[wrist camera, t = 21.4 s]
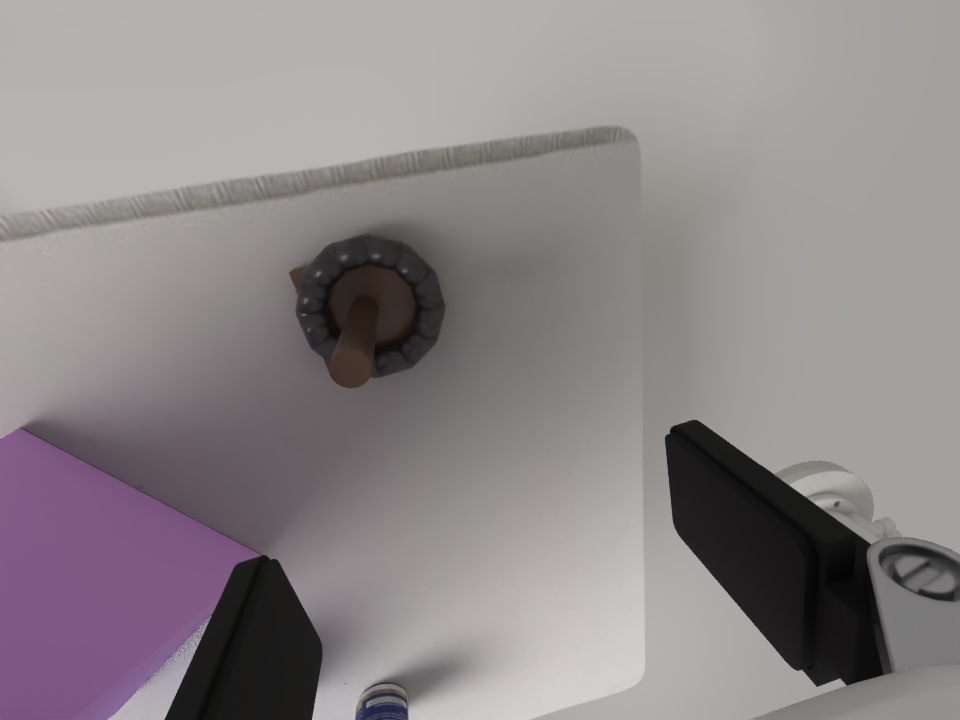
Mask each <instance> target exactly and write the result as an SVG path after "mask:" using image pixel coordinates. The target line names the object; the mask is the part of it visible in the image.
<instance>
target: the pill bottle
mask: <svg viewBox="0 0 960 720" xmlns="http://www.w3.org/2000/svg"><path fill="white" fill-rule="evenodd" d="M355 720H409V719H408V696H407V694H406V692H405V691H404V689H402V688H401V687H400V686H397V685H394V684H381V685H377V686H374V687H372V688H370V689H368V690H367V691H365V692H364V693H363V694H362V695H361V696H360V698H359V700H358V702H357V708H356V719H355Z"/></svg>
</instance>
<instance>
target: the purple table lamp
mask: <svg viewBox="0 0 960 720" xmlns="http://www.w3.org/2000/svg"><path fill="white" fill-rule="evenodd" d="M259 556H260V554H258V553H256V552H254V551H252V550H251V549H249V548H247V547H245V546H243V545H241V544H239V543H237V542H235V541H233V540H232V539H230V538H228V537H226V536H224V535H222V534H220V533H218V532H216V531H214V530H213V529H211V528H209V527H207V526H205V525H203V524H201V523H199V522H197V521H195V520H194V519H192V518H190V517H188V516H186V515H184V514H182V513H180V512H178V511H176V510H175V509H173V508H171V507H169V506H167V505H165V504H163V503H161V502H159V501H157V500H156V499H154V498H152V497H150V496H148V495H146V494H144V493H142V492H140V491H138V490H137V489H135V488H133V487H131V486H129V485H127V484H125V483H123V482H121V481H119V480H118V479H116V478H114V477H112V476H110V475H108V474H106V473H104V472H102V471H100V470H99V469H97V468H95V467H93V466H91V465H89V464H87V463H85V462H83V461H81V460H80V459H78V458H76V457H74V456H72V455H70V454H68V453H66V452H64V451H62V450H61V449H59V448H57V447H55V446H53V445H51V444H49V443H47V442H45V441H43V440H42V439H40V438H38V437H36V436H34V435H32V434H30V433H28V432H26V431H25V430H23V429H21V428H19V429H17V430H15V431H14V432H12V433H10V434H9V435H7V436H5V437H4V438H2V439H0V720H107V719H108V718H110V717H111V716H113V715H114V714H115V713H116V712H117V711H118V710H119V709H120V708H121V707H122V706H123V705H124V704H125V703H126V702H127V701H128V700H129V699H130V698H131V697H132V696H133V695H134V694H135V693H136V691H137V690H138V689H139V688H140V687H141V686H142V685H143V684H144V683H145V682H146V681H147V680H148V679H149V678H150V677H151V676H152V675H153V674H154V673H155V672H156V671H157V670H158V669H159V668H160V667H161V666H162V665H163V664H164V663H165V662H166V661H167V660H168V659H169V658H170V657H171V655H172V654H173V653H174V652H175V651H176V650H177V649H178V648H179V647H180V646H181V645H182V644H183V643H184V642H185V641H186V640H187V639H188V638H189V637H190V636H191V635H192V634H193V633H194V632H195V631H196V630H197V629H198V628H199V627H200V626H201V625H202V624H203V623H204V622H205V620H206V619H207V618H208V617H209V616H210V615H211V614H212V613H213V612H214V610H215V608H216V606H217V603H218V601H219V599H220V597H221V595H222V592H223V590H224V588H225V586H226V584H227V581H228V579H229V577H230V575H231V573H232V570H233V568H234V567H235V565H236V564H238V563H240V562H243V561H246V560H249V559H252V558H255V557H259Z"/></svg>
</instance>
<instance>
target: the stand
mask: <svg viewBox="0 0 960 720" xmlns="http://www.w3.org/2000/svg"><path fill="white" fill-rule="evenodd" d="M398 242H401V241H398ZM401 243H402V242H401ZM307 267H308V266H305V267H302V268H298V269H294V270H292V271H290V272H289V274H290V277H291V279H292V282H293V284H294V287H295V289H296V291H297V294H298V292H299V285H300V279H301V275H302V273H303V272H304V270H305V269H306V268H307ZM416 310H417V306H416V303H415V300H414V297H413V294H412V290H411V287H410V286H409V285H408V284H407V283H406V282H405V281H403V280H402V279H401V278H400V277H399V276H398V275H397V274H396V273H395V272H394V271H391V270H387V269H383V268H379V267H375V266H371V265H368V266H365V267H361V268H358V269H354V270H351V271H347V272H346V273H345V274H344V275H343V276H342V277H341V278H340V279H339V280H338V281H337V283H336V284H335V285H334V286H333V287H332V288H331V291H330V297H329V303H328V309H327V311H328V314H329V316H330V319H331V321H332V324H333V326H334V329H335V331H336V332H337V333H338V334H339V335H340V336H339V339H338V342H337V344H336V347H335V349H334V352H333V355H332V357H331V360H330V362H328V361H326V360H325V359H324V360H325V363H326V365H327V368H328V370H329V373H330V376H331V378H332V379H333V380H334V381H335V382H336V383H337V384H339V385H341V386H343V387H347V388H355V387H359V386H361V385H363V384H364V383H366V382H367V381H368V379H369V378H370V376H371V373H372V366H373V357H374V350H379V349H383V348H386V347H389V346H393V345H396V344H398V343H399V342H400V341H401V340H402V339H403V338H404V337H405V336H406V335H407V334H408V333H409V331H410V330H411V329H412V327H413V323H414V319H415V315H416Z"/></svg>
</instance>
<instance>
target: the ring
mask: <svg viewBox="0 0 960 720" xmlns="http://www.w3.org/2000/svg"><path fill="white" fill-rule="evenodd" d="M368 265H371V266H375V267H379V268H383V269H387V270H391V271H394V272H395V273H396V274H397V275H398V276H399V277H400V278H401V279H402V280H403V281H405V282H406V283H407V284H408V285H409V286H410V287H411V290H412V294H413V297H414V300H415V303H416V306H417V310H416V315H415V319H414V323H413V327H412V329H411V330H410V331H409V333H408V334H407V335H406V336H405V337H404V338H403V339H402V340H401V341H400V342H399V343H398V344H396V345H393V346H389V347H386V348H383V349H379V350H374V357H373V366H372V373H371V376H370V377H373V378H380V377H384V376H387V375H390V374H393V373H397V372H400V371H403V370H406V369H409V368H412V367H413V366H414V365H415V364H416V363H417V362H418V361H419V360H420V359H421V358H422V357H423V356H424V355H425V354H426V353H427V352H428V351H429V350H430V349H431V348H432V347H433V346H434V345H435V344H436V342H437V340H438V337H439V333H440V329H441V325H442V321H443V317H444V313H445V303H444V299H443V296H442V293H441V289H440V286H439V282H438V279H437V275H436V273H435V271H434V270H433V269H432V268H431V267H430V266H429V265H428V264H427V263H426V262H425V261H424V260H423V259H422V258H421V257H420V256H419V255H418V254H417V253H416V252H415V251H414V250H413V249H412V248H411V247H409V246H408V245H407V244H405V243H401V242H397V241H394V240H390V239H386V238H382V237H378V236H375V235H370V234H364V235H360V236H357V237H353V238H350V239H346V240H342V241H339V242H335V243H332V244H329V245H328V246H326V247H325V248H324V249H323V251H322V252H321V253H320V254H319V255H318V256H317V257H316V258H315V259H314V261H313V262H312V263H311V264H310V265H309V266H308V267H307V268H306V269H305V270H304V272H303V273H302V275H301V279H300V285H299V292H298V298H297V305H296V315H297V318H298V320H299V323H300V325H301V327H302V330H303V332H304V334H305V337H306V339H307V341H308V344H309V346H310V347H311V349H312V350H313V351H315V352H316V353H317V354H319V355H320V356H321V357H322V358H324V359H325V360H326V361H328V362H330V360H331V357H332V355H333V352H334V349H335V347H336V344H337V342H338V339H339V336H340V335H339V334H338V333H337V332H336V331H335V329H334V326H333V324H332V321H331V319H330V316H329V314H328V311H327V309H328V303H329V297H330V291H331V288H332V287H333V286H334V285H335V284H336V283H337V281H338V280H339V279H340V278H341V277H342V276H343V275H344V274H345V273H346V272H347V271H351V270H354V269H358V268H361V267H365V266H368Z"/></svg>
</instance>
